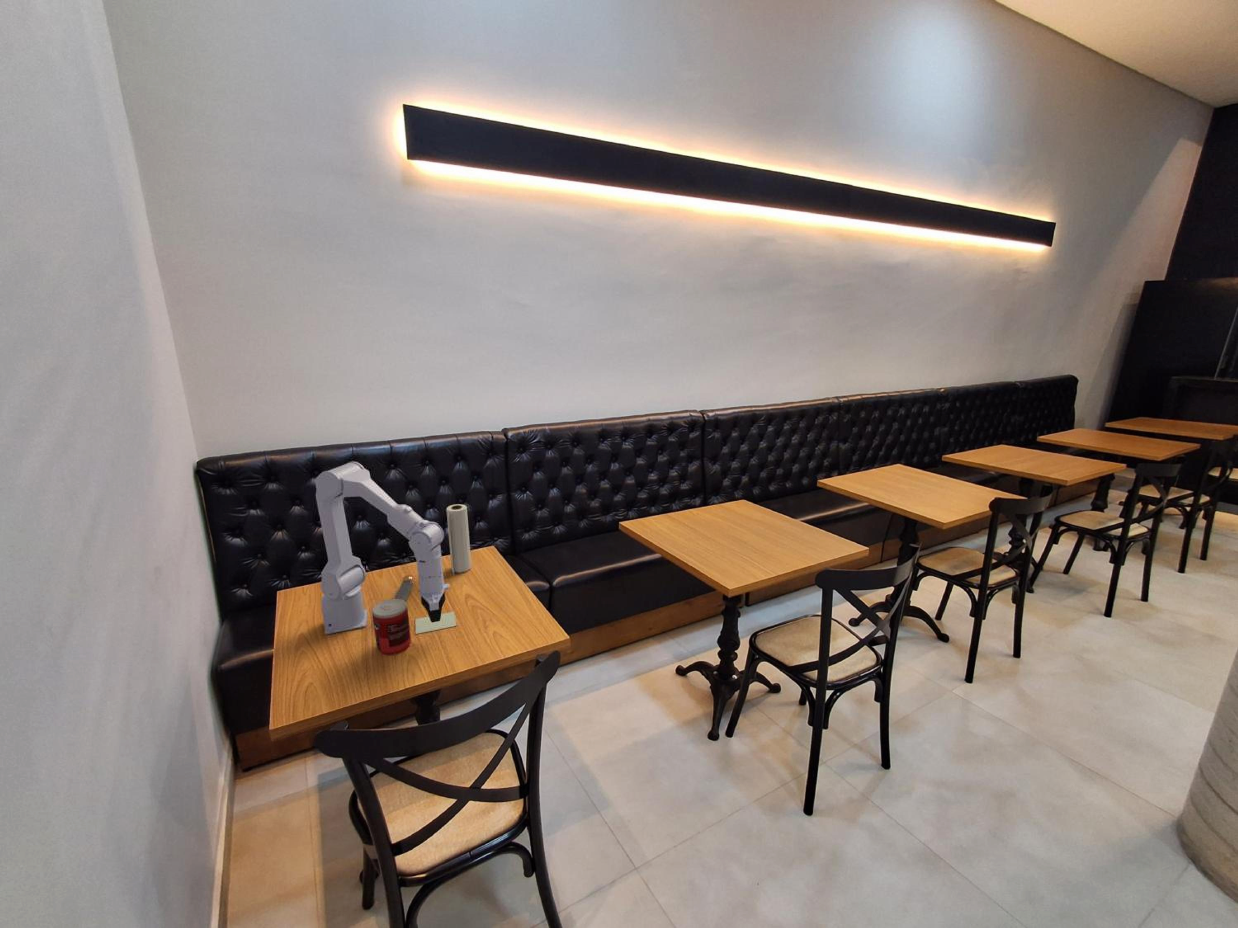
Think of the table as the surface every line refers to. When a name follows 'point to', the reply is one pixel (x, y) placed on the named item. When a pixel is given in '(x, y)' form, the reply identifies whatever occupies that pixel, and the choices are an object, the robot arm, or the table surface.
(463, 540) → the paper towel roll
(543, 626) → the table surface
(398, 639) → the canned food
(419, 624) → the plate
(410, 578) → the grey copper-tipped rod
